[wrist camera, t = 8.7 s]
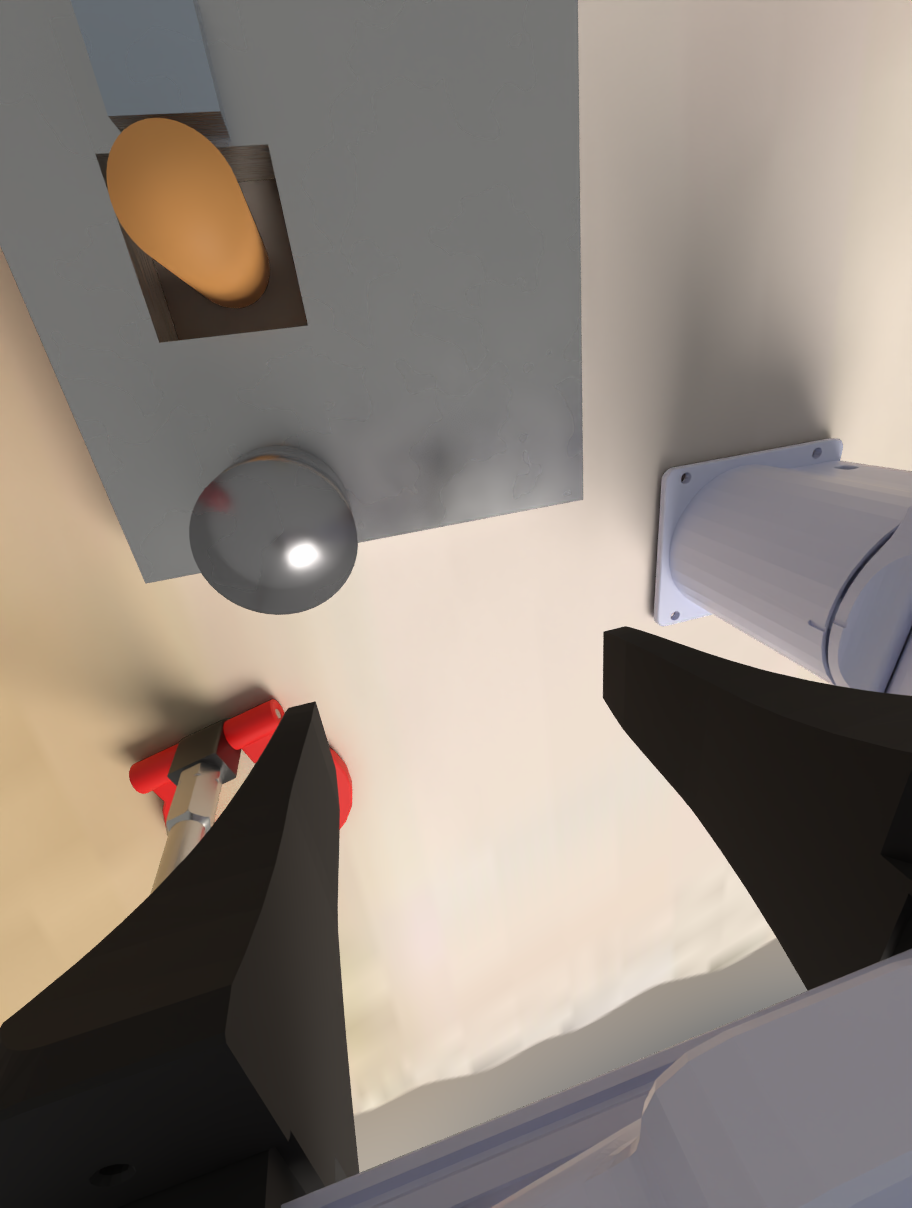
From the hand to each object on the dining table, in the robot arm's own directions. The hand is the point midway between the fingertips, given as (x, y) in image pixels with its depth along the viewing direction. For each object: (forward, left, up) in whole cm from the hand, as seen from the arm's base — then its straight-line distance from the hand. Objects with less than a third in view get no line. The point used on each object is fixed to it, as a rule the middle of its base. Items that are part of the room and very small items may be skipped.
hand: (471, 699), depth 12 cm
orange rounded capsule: (+4, -11, -10) cm, 16 cm away
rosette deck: (+1, -9, -10) cm, 14 cm away
